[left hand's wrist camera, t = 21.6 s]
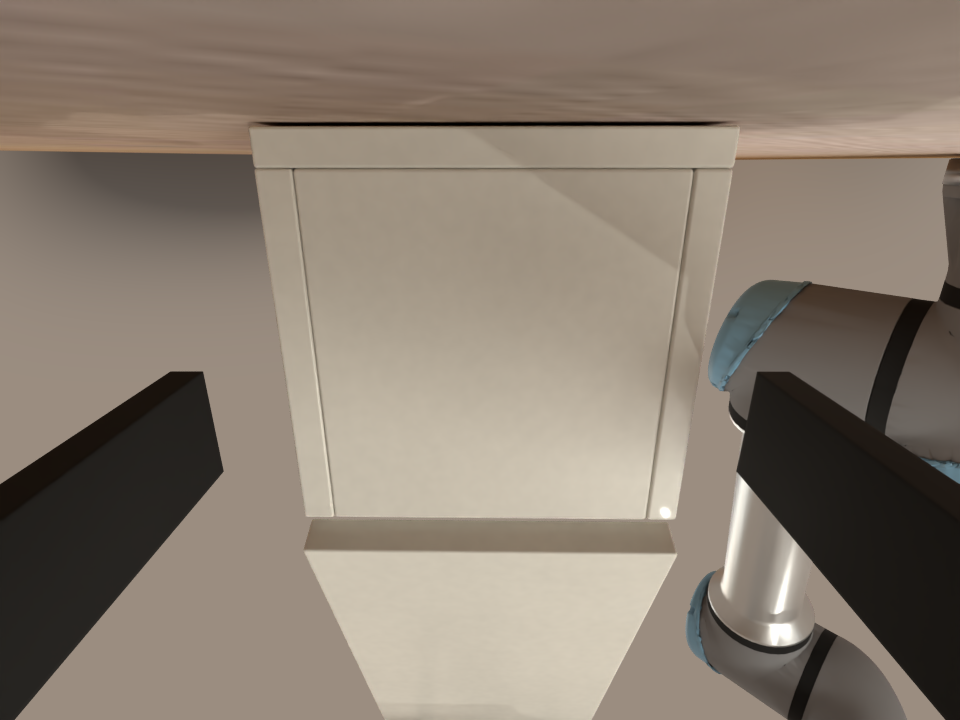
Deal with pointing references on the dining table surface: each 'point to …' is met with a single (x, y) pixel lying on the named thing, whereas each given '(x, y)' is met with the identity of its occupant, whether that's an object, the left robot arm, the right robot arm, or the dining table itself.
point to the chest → (492, 312)
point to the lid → (489, 610)
